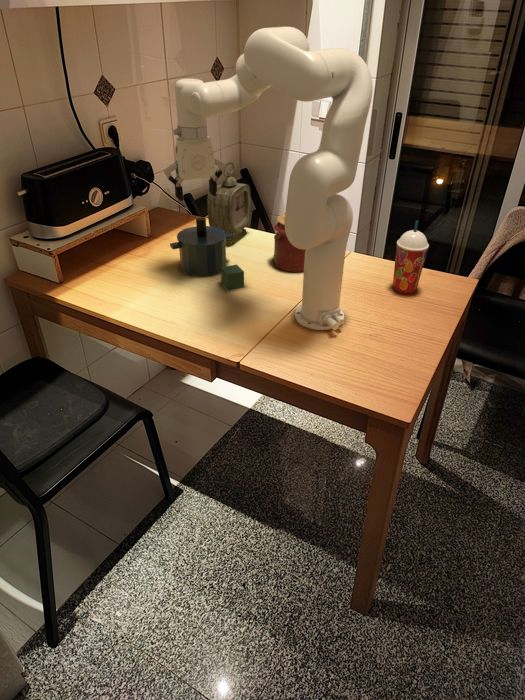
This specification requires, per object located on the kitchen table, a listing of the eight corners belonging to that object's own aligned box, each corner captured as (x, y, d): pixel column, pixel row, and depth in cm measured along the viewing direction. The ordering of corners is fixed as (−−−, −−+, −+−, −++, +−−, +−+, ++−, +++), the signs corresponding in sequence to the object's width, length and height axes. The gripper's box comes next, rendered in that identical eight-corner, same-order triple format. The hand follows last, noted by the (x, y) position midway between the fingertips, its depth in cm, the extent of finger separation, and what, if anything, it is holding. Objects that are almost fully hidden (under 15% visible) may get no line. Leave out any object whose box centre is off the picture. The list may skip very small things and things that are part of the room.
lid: (234, 243, 150) (234, 223, 146) (186, 252, 144) (185, 231, 141) (215, 226, 160) (214, 207, 157) (170, 234, 155) (168, 214, 151)
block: (244, 287, 147) (244, 271, 144) (228, 290, 145) (227, 274, 142) (237, 280, 150) (236, 264, 147) (221, 283, 148) (220, 267, 146)
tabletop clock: (231, 248, 169) (229, 169, 154) (207, 243, 172) (203, 166, 158) (251, 232, 180) (250, 158, 165) (228, 228, 183) (225, 155, 168)
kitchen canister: (324, 266, 158) (328, 209, 148) (290, 276, 152) (292, 218, 142) (298, 251, 167) (301, 197, 157) (265, 260, 161) (265, 205, 151)
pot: (241, 269, 156) (241, 239, 150) (181, 282, 149) (178, 251, 143) (223, 252, 166) (222, 224, 160) (166, 263, 159) (163, 234, 153)
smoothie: (424, 288, 147) (439, 220, 135) (409, 299, 142) (423, 229, 130) (399, 279, 151) (410, 213, 140) (383, 289, 146) (394, 221, 135)
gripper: (165, 138, 129) (171, 205, 139) (229, 132, 135) (230, 197, 145) (156, 132, 134) (162, 197, 144) (218, 126, 141) (220, 189, 151)
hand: (196, 197), depth 145 cm, fingers open, 9 cm apart
